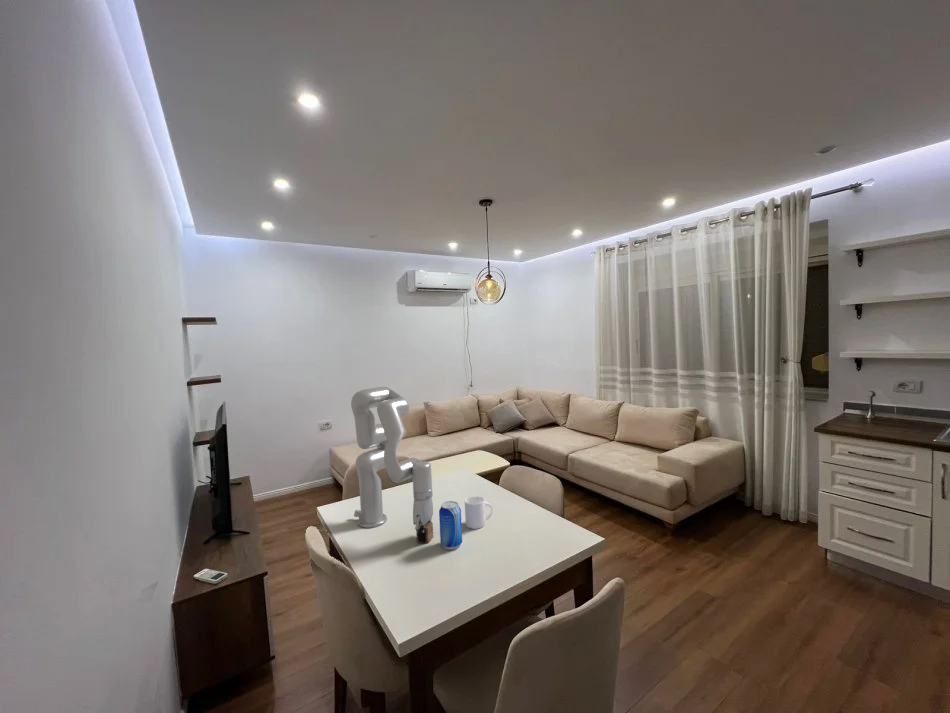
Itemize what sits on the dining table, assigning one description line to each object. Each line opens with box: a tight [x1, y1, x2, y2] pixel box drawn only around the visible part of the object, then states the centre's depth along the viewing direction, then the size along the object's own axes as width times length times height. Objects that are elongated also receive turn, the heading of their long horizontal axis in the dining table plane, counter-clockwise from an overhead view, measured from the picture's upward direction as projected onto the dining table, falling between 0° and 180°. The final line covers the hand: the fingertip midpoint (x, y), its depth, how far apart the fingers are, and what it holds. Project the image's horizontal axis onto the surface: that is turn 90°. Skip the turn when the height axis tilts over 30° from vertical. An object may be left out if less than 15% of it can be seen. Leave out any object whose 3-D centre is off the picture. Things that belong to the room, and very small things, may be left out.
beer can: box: [438, 500, 463, 551], centre depth 149 cm, size 8×8×16 cm
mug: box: [464, 495, 493, 530], centre depth 166 cm, size 9×12×11 cm
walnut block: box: [415, 521, 434, 544], centre depth 155 cm, size 5×5×6 cm
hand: (425, 537), depth 155 cm, fingers closed on walnut block, 5 cm apart
